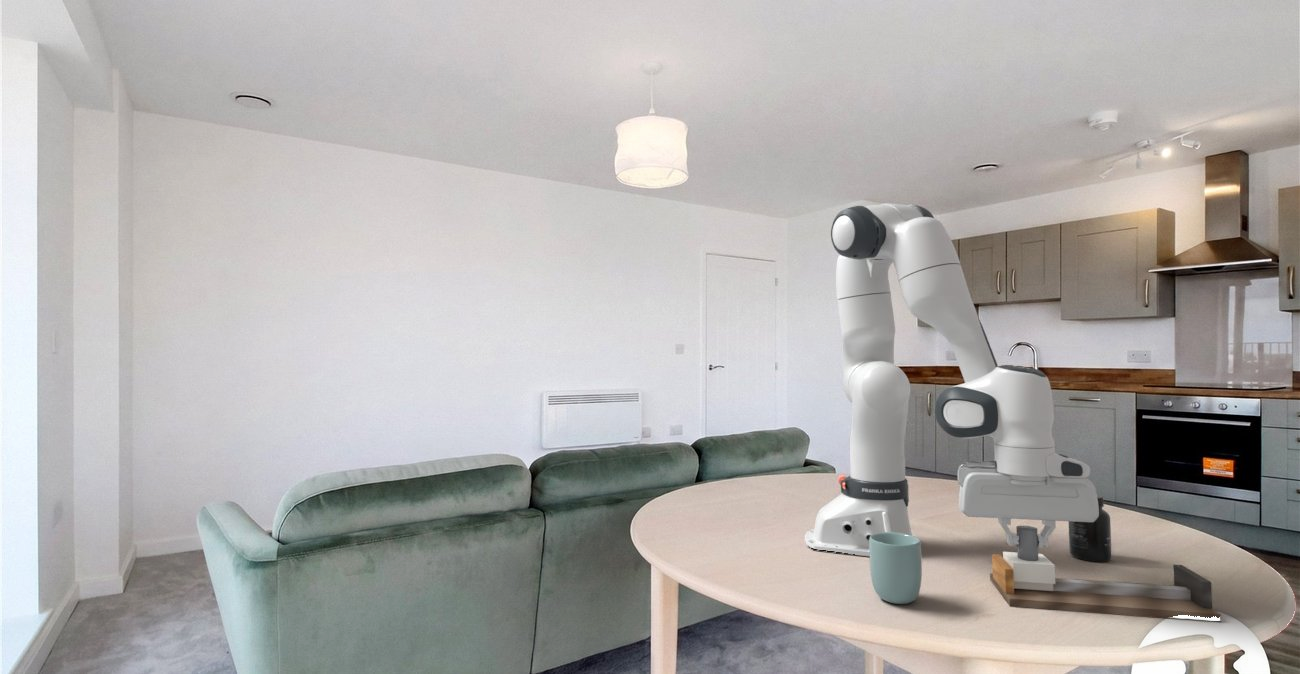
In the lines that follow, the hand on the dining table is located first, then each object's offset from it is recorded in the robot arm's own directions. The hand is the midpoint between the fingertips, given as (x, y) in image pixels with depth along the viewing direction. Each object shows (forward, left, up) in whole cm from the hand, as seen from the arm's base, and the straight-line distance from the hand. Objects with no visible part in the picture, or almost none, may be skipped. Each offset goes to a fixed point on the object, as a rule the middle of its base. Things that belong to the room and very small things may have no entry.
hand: (1027, 545), depth 105 cm
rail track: (+10, 0, -8) cm, 12 cm away
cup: (-21, -7, -8) cm, 24 cm away
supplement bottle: (+18, +24, -8) cm, 31 cm away
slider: (0, 0, -7) cm, 7 cm away
